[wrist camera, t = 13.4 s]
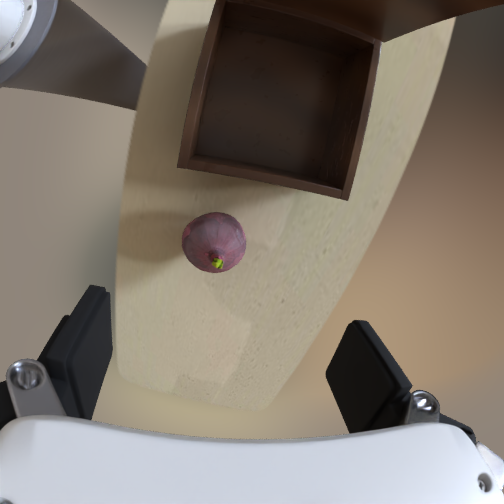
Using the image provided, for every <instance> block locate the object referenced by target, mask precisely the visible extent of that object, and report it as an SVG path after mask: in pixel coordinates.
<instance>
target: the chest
mask: <svg viewBox="0 0 504 504" xmlns="http://www.w3.org/2000/svg"><path fill="white" fill-rule="evenodd" d="M381 45H382V41H380V40H378V39H375V38H373V37H371V36H369V35H366V34H364V33H362V32H359V31H357V30H354V29H352V28H349V27H347V26H344V25H342V24H339V23H336V22H333V21H331V20H328V19H325V18H322V17H319V16H316V15H313V14H310V13H306V12H303V11H299V10H296V9H292V8H289V7H285V6H281V5H277V4H273V3H268V2H264V1H259V0H216V2H215V5H214V8H213V11H212V15H211V18H210V22H209V25H208V28H207V32H206V36H205V39H204V43H203V47H202V50H201V54H200V58H199V62H198V66H197V70H196V74H195V79H194V83H193V87H192V92H191V96H190V101H189V106H188V110H187V115H186V120H185V125H184V130H183V136H182V141H181V147H180V152H179V158H178V164H177V168H183V169H190V170H196V171H203V172H209V173H215V174H221V175H227V176H233V177H238V178H244V179H249V180H255V181H260V182H265V183H270V184H275V185H280V186H285V187H290V188H294V189H299V190H303V191H308V192H312V193H317V194H321V195H326V196H330V197H334V198H338V199H342V200H346V201H348V199H349V196H350V192H351V188H352V184H353V181H354V177H355V173H356V169H357V165H358V161H359V157H360V152H361V148H362V144H363V140H364V135H365V131H366V126H367V121H368V117H369V112H370V107H371V102H372V97H373V92H374V87H375V81H376V75H377V70H378V64H379V58H380V51H381Z"/></svg>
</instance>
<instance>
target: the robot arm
mask: <svg viewBox="0 0 504 504" xmlns="http://www.w3.org/2000/svg"><path fill="white" fill-rule="evenodd" d="M36 10H37V0H0V65H1V64H2V63H4V62H5V61H6V60H7V59H8V58H10V57H11V56H12V54H13V53H14V52H15V51H16V50H17V49H18V47H19V46H20V45H21V44H22V42H23V40H24V39H25V37H26V36H27V34H28V32H29V30H30V28H31V26H32V24H33V21H34V18H35V15H36ZM112 350H113V346H112V332H111V310H110V293H109V292H106V289H105V287H100V286H94V285H90V286H89V287H88V289H87V290H86V292H85V293H84V295H83V296H82V298H81V299H80V301H79V302H78V304H77V305H76V307H75V309H74V310H73V312H72V313H71V315H70V316H69V315H65V316H64V317H63V318H62V320H61V321H60V323H59V324H58V326H57V328H56V329H55V331H54V332H53V334H52V336H51V337H50V339H49V341H48V342H47V344H46V346H45V347H44V349H43V351H42V352H41V354H40V356H39V358H38V359H37V361H36V360H33V359H21V360H18V361H16V362H14V363H13V364H12V365H10V367H9V368H8V370H7V373H6V381H3V382H0V504H504V495H503V493H502V491H501V490H502V487H503V484H504V460H503V459H502V458H500V457H499V456H498V455H496V454H495V453H494V452H492V451H491V450H490V449H488V448H487V447H486V446H484V445H483V444H482V443H480V442H479V441H478V442H477V443H476V437H475V434H474V433H473V430H472V429H471V428H470V427H468V426H466V425H464V424H462V423H460V422H457V421H456V420H453V419H451V418H449V417H447V416H445V415H443V414H441V413H440V405H439V402H438V400H437V399H436V398H435V397H434V396H433V395H432V394H430V393H429V392H427V391H423V390H416V391H414V392H412V393H410V392H409V390H410V389H411V388H412V384H411V383H410V381H409V380H408V378H407V377H406V375H405V374H404V373H403V371H402V369H401V368H400V366H399V365H398V363H397V362H396V361H395V359H394V358H393V356H392V355H391V353H390V352H389V351H388V349H387V348H386V346H385V345H384V343H383V342H382V341H381V339H380V338H379V336H378V335H377V334H376V332H375V331H374V329H373V328H372V327H371V325H370V324H369V323H368V322H367V321H363V320H354V321H352V323H350V324H348V326H347V328H346V330H345V332H344V335H343V337H342V339H341V341H340V343H339V345H338V348H337V350H336V352H335V354H334V356H333V358H332V360H331V362H330V364H329V366H328V368H327V370H326V379H327V381H328V383H329V386H330V388H331V391H332V393H333V395H334V398H335V400H336V402H337V405H338V407H339V409H340V412H341V414H342V416H343V419H344V421H345V423H346V426H347V428H348V431H349V433H350V434H343V435H335V436H323V437H311V438H294V439H223V438H208V437H195V436H185V435H175V434H167V433H161V432H154V431H146V430H140V429H134V428H128V427H123V426H118V425H113V424H108V423H102V422H97V421H92V420H91V419H92V416H93V412H94V409H95V406H96V402H97V399H98V396H99V393H100V389H101V386H102V383H103V380H104V377H105V374H106V371H107V368H108V365H109V362H110V359H111V356H112Z"/></svg>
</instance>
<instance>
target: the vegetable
mask: <svg viewBox="0 0 504 504" xmlns="http://www.w3.org/2000/svg"><path fill="white" fill-rule="evenodd" d="M182 248H183V251H184V254H185V255H186V257H187V259H188V260H189V261H190V262H191V263H192V264H193V265H194V266H195V267H197V268H199V269H200V270H203V271H206V272H212V273H218V272H224V271H227V270H229V269H231V268H232V267H234V266H235V265H237V264H238V263H239V262H240V260H241V259H242V257H243V255H244V253H245V249H246V238H245V234H244V231H243V228H242V226H241V225H240V223H239V222H238V221H237V220H236V219H235V218H234V217H232V216H231V215H228V214H225V213H219V212H214V213H208V214H204V215H202V216H200V217H198V218H196V219H194V220H193V221H191V222H190V223H189V224H188V225H187V227H186V228H185V230H184V232H183V235H182Z"/></svg>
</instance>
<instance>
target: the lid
mask: <svg viewBox="0 0 504 504" xmlns="http://www.w3.org/2000/svg"><path fill="white" fill-rule="evenodd" d="M259 1H264V2H268V3H273V4H277V5H281V6H285V7H289V8H292V9H296V10H299V11H303V12H306V13H310V14H313V15H316V16H319V17H322V18H325V19H328V20H331V21H333V22H336V23H339V24H342V25H344V26H347V27H349V28H352V29H354V30H357V31H359V32H362V33H364V34H366V35H369V36H371V37H373V38H375V39H378V40H380V41H382V42H384V43H385V42H387V41H389V40H392V39H394V38H397V37H399V36H402V35H404V34H407V33H409V32H412V31H415V30H417V29H420V28H423V27H426V26H428V25H431V24H434V23H437V22H440V21H443V20H446V19H449V18H453V17H456V16H459V15H463V14H466V13H470V12H473V11H477V10H481V9H485V8H489V7H493V6H498V5H502V4H504V0H259Z"/></svg>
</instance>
